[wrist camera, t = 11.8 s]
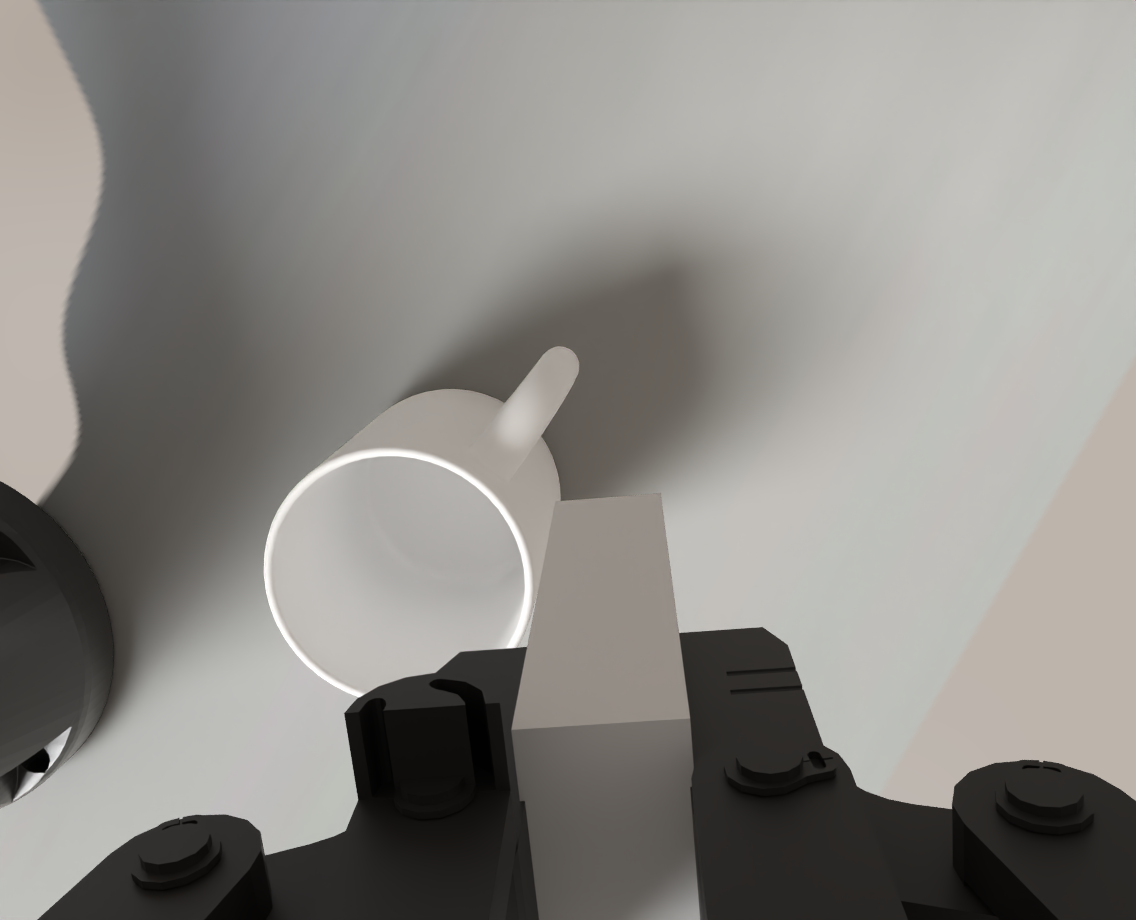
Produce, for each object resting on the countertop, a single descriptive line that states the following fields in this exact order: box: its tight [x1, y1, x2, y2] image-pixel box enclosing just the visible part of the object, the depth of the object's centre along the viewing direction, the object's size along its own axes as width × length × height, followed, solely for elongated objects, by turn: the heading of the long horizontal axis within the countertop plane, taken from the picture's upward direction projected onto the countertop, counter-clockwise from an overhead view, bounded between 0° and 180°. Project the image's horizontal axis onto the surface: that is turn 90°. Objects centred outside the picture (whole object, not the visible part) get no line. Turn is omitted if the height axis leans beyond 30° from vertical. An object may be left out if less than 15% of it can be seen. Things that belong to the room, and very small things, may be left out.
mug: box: [264, 346, 579, 697], centre depth 37 cm, size 12×8×10 cm
